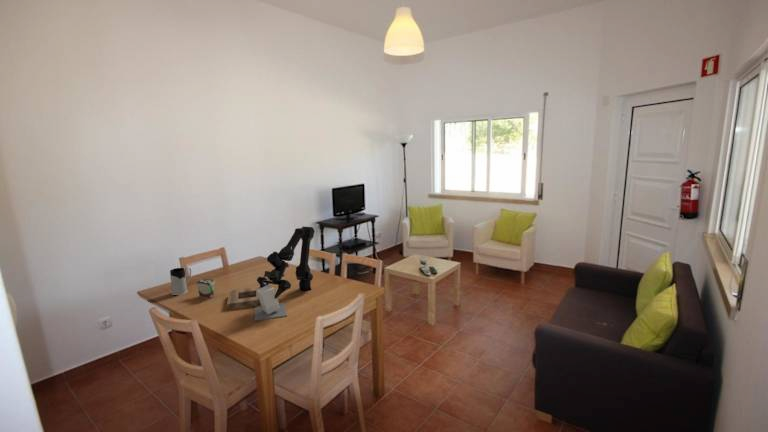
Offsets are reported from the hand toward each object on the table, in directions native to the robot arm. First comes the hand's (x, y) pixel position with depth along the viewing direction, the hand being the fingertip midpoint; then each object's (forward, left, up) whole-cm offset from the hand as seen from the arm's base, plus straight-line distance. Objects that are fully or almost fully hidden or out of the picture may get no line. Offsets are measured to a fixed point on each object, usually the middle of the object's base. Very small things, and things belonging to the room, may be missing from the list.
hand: (267, 297), depth 190 cm
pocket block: (+11, -22, -9) cm, 26 cm away
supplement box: (-2, -1, -8) cm, 8 cm away
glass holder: (+49, -50, -9) cm, 71 cm away
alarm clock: (+33, -37, -9) cm, 51 cm away
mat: (-1, -1, -9) cm, 9 cm away
